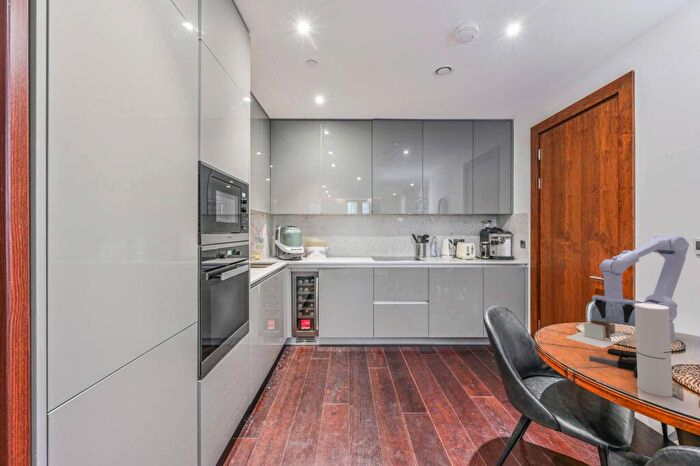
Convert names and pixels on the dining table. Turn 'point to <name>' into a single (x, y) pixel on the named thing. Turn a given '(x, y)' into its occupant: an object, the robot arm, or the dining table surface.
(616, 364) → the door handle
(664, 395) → the cylindrical container
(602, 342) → the mat
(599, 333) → the tile
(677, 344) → the dining table surface
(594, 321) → the pusher
